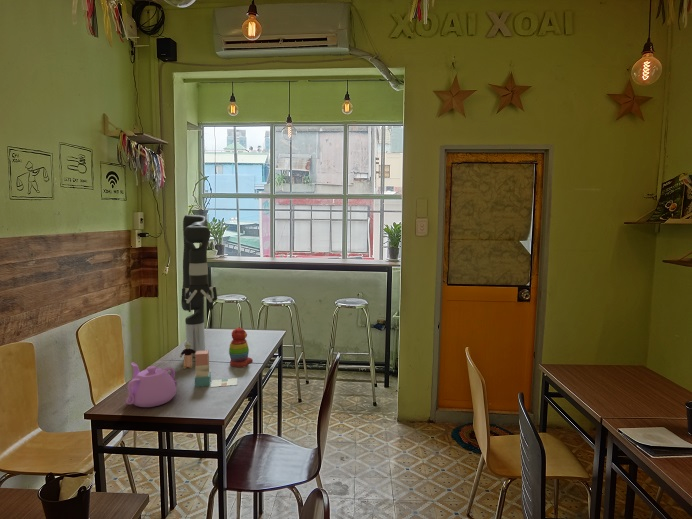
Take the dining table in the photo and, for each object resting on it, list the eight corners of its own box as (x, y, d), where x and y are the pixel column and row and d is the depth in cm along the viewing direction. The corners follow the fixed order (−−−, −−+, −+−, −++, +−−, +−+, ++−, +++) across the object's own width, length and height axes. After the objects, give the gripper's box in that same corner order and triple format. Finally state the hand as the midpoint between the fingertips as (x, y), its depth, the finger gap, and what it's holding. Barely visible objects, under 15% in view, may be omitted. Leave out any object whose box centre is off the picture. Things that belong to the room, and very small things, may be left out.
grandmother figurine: (181, 369, 211) (179, 343, 209) (179, 367, 214) (178, 341, 213) (197, 367, 214) (196, 341, 213) (196, 364, 217) (195, 339, 216)
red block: (197, 362, 194) (196, 351, 193) (209, 361, 195) (208, 350, 194) (195, 365, 189) (195, 354, 188) (207, 365, 190) (207, 353, 189)
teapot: (156, 385, 191) (154, 354, 190) (190, 395, 180) (189, 362, 178) (106, 404, 172) (104, 369, 171) (141, 416, 161) (139, 379, 160)
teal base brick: (196, 381, 195) (196, 373, 194) (210, 380, 196) (210, 371, 196) (195, 386, 189) (194, 377, 189) (209, 385, 190) (209, 376, 190)
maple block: (197, 373, 194) (196, 362, 194) (209, 372, 195) (208, 361, 195) (195, 377, 189) (195, 365, 189) (208, 376, 190) (207, 365, 190)
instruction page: (212, 380, 196) (212, 380, 196) (237, 378, 198) (237, 378, 198) (210, 387, 188) (210, 386, 188) (237, 385, 191) (237, 384, 191)
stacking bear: (244, 367, 213) (243, 331, 211) (225, 366, 215) (224, 330, 213) (254, 360, 223) (253, 326, 222) (235, 359, 225) (234, 325, 224)
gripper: (216, 271, 193) (218, 308, 195) (182, 273, 190) (183, 310, 192) (215, 274, 186) (216, 312, 187) (179, 275, 183) (181, 313, 184)
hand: (200, 311), depth 189 cm, fingers open, 8 cm apart
